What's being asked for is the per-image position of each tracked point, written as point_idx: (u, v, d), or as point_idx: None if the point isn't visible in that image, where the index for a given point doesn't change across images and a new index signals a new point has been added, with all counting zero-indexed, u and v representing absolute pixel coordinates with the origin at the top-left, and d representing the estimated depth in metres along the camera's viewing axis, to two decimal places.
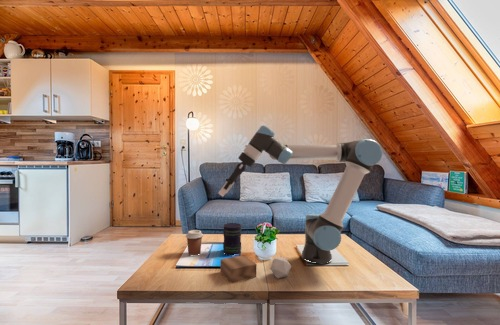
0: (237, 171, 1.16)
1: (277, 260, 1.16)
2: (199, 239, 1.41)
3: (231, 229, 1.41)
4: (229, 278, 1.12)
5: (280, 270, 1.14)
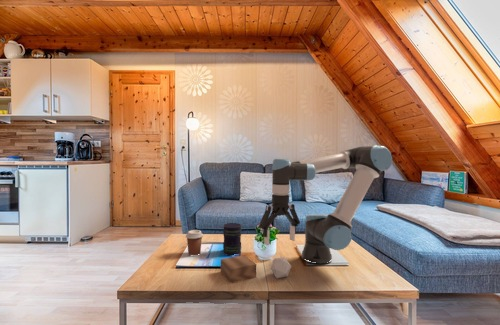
0: (265, 214, 1.13)
1: (277, 260, 1.16)
2: (199, 239, 1.41)
3: (231, 229, 1.41)
4: (229, 278, 1.12)
5: (280, 270, 1.14)
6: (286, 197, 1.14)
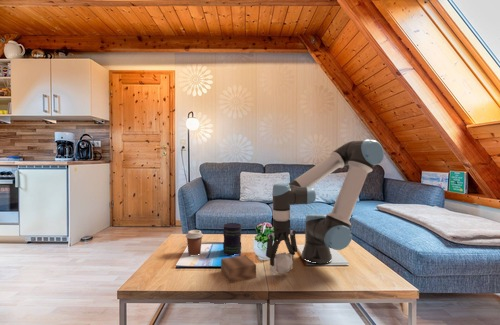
0: (269, 243, 1.14)
1: (279, 256, 1.16)
2: (199, 239, 1.41)
3: (231, 229, 1.41)
4: (228, 278, 1.12)
5: (282, 266, 1.13)
6: (287, 223, 1.14)
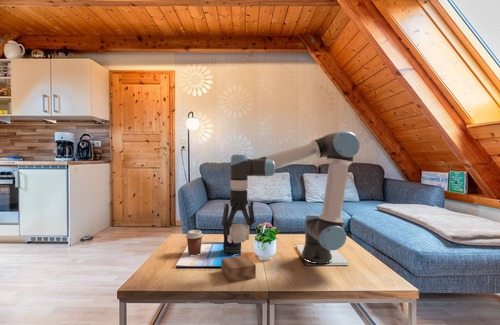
0: (224, 212, 1.15)
1: (235, 226, 1.16)
2: (199, 239, 1.41)
3: None
4: (228, 278, 1.12)
5: (237, 235, 1.14)
6: (243, 192, 1.15)
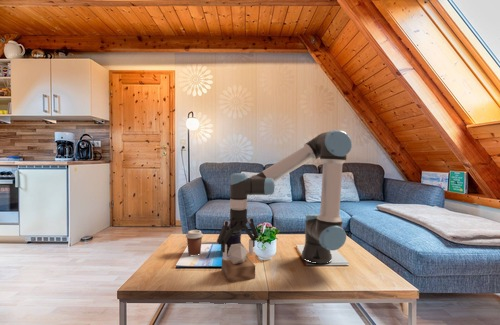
0: (222, 230, 1.15)
1: (234, 246, 1.17)
2: (199, 239, 1.41)
3: None
4: (227, 278, 1.12)
5: (236, 256, 1.14)
6: (243, 212, 1.15)
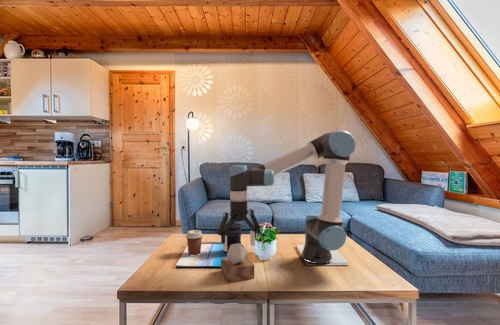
0: (223, 221, 1.14)
1: (233, 246, 1.17)
2: (199, 239, 1.41)
3: (231, 229, 1.41)
4: (226, 278, 1.12)
5: (236, 256, 1.14)
6: (243, 203, 1.15)
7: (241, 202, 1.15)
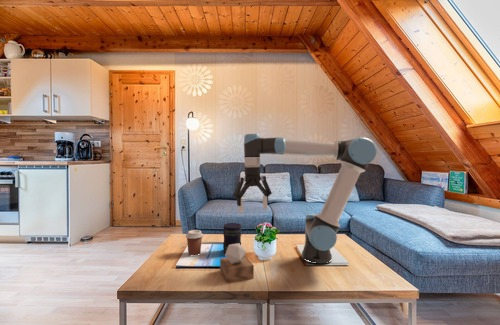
0: (238, 185, 1.23)
1: (232, 246, 1.17)
2: (199, 239, 1.41)
3: (231, 229, 1.41)
4: (225, 278, 1.12)
5: (234, 256, 1.14)
6: (257, 168, 1.24)
7: (255, 167, 1.24)
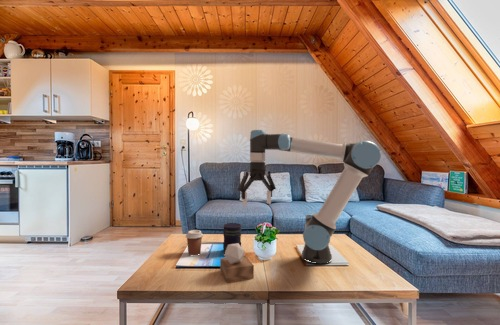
0: (243, 179, 1.28)
1: (231, 246, 1.17)
2: (199, 239, 1.41)
3: (231, 229, 1.41)
4: (225, 278, 1.12)
5: (233, 256, 1.14)
6: (262, 164, 1.28)
7: (260, 162, 1.28)
